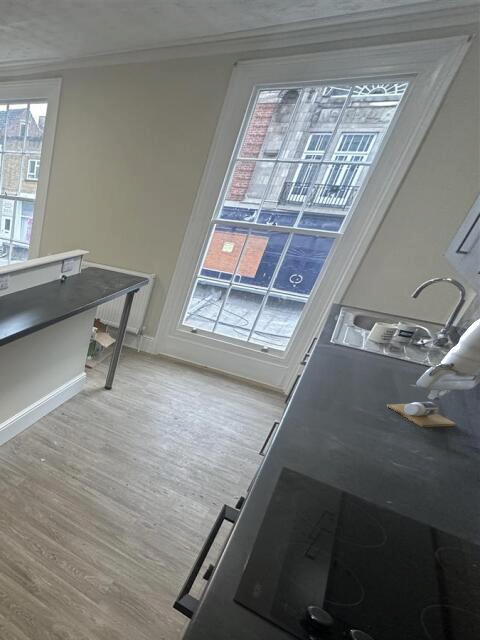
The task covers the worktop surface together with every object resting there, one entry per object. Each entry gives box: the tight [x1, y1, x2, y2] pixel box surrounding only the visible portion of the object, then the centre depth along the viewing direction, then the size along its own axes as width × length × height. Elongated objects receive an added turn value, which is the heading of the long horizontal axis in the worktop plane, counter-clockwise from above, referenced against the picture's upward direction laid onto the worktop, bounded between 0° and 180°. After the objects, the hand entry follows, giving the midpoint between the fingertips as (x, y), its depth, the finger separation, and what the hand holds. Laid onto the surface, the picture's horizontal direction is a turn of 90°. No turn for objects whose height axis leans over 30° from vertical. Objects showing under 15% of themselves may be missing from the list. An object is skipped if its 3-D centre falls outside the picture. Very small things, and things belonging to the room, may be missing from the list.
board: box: [386, 403, 457, 428], centre depth 141 cm, size 12×14×1 cm
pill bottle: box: [404, 401, 439, 416], centre depth 139 cm, size 5×5×8 cm
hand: (433, 398), depth 137 cm, fingers closed
